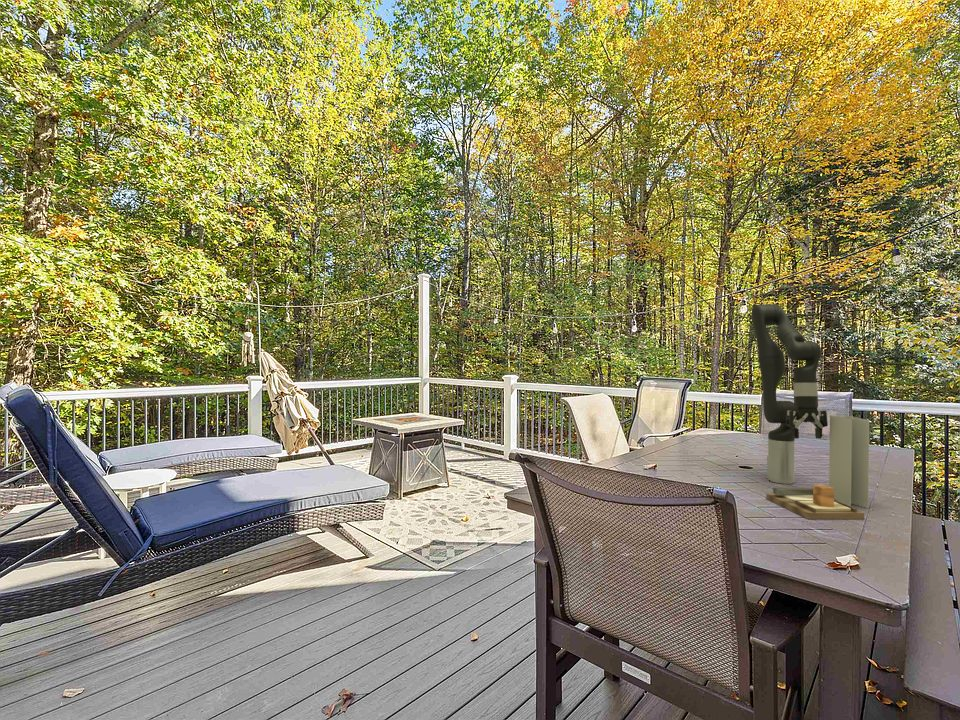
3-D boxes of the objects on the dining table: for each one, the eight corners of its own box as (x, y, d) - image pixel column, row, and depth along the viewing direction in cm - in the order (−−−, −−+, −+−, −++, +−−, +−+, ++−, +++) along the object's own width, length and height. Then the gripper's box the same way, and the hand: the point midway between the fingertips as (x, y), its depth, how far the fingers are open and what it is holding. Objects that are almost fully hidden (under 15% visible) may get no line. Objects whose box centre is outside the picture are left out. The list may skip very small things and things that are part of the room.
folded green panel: (868, 508, 164) (869, 420, 164) (850, 507, 165) (851, 420, 165) (845, 496, 178) (846, 415, 178) (829, 495, 179) (829, 415, 179)
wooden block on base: (797, 503, 163) (797, 483, 163) (832, 503, 163) (832, 483, 163) (814, 511, 155) (814, 490, 155) (850, 510, 155) (851, 489, 155)
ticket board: (766, 498, 175) (766, 485, 175) (815, 498, 176) (815, 485, 176) (808, 519, 153) (808, 504, 153) (864, 519, 154) (864, 504, 154)
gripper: (817, 394, 185) (818, 437, 184) (780, 394, 185) (781, 437, 184) (831, 395, 178) (833, 439, 177) (793, 395, 177) (795, 439, 177)
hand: (807, 438), depth 181 cm, fingers open, 8 cm apart
